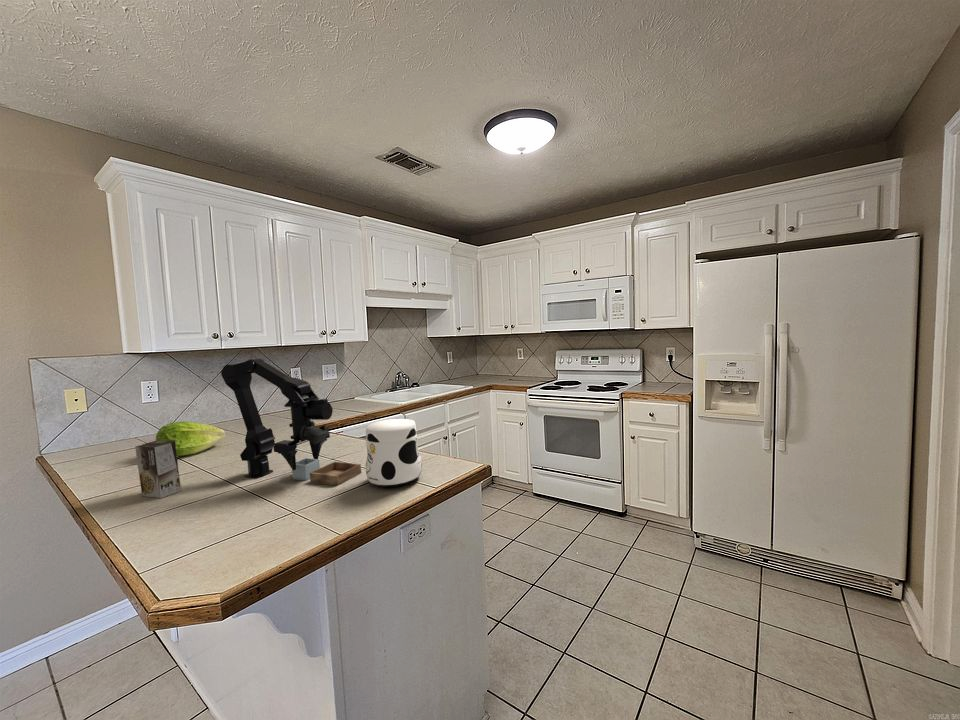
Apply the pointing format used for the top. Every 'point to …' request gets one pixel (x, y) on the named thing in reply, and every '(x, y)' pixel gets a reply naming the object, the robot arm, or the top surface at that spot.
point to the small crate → (305, 468)
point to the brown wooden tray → (335, 473)
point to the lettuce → (190, 436)
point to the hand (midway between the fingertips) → (305, 465)
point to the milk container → (392, 452)
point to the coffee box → (158, 468)
